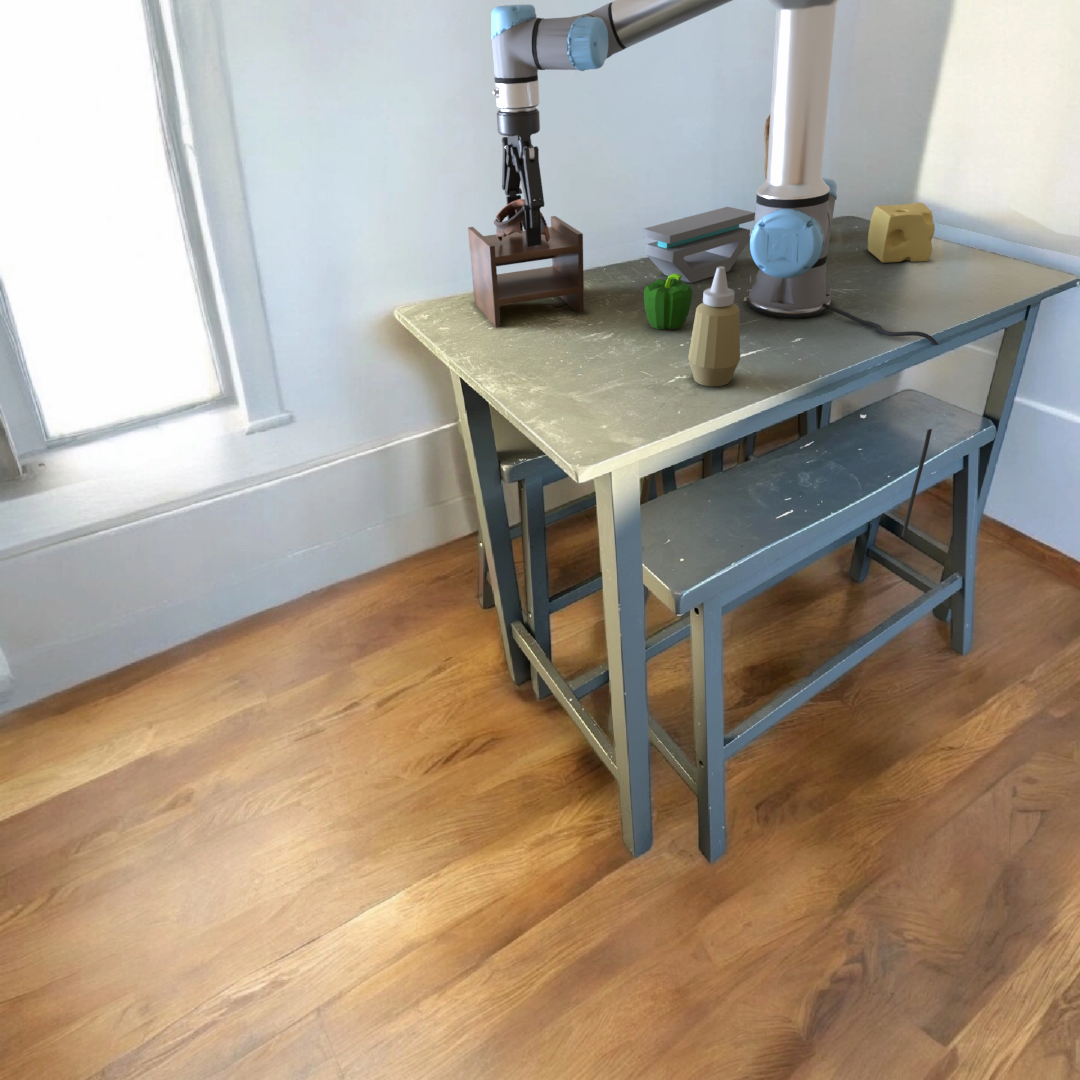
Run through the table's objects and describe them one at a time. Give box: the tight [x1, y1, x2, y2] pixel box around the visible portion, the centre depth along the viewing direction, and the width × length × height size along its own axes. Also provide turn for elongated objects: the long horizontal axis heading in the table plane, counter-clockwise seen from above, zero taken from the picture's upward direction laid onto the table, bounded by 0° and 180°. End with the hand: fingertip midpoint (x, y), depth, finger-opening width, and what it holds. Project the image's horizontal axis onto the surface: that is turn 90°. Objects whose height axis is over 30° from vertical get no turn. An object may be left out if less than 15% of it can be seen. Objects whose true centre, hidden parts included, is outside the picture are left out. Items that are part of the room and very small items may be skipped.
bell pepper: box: [643, 273, 693, 330], centre depth 155 cm, size 8×8×10 cm
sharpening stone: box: [642, 206, 756, 284], centre depth 180 cm, size 25×8×11 cm, turn 127°
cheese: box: [867, 202, 936, 264], centre depth 184 cm, size 10×11×10 cm
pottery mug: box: [493, 198, 550, 242], centre depth 161 cm, size 12×10×8 cm
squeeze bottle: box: [687, 266, 741, 387], centre depth 132 cm, size 8×8×18 cm
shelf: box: [467, 215, 585, 328], centre depth 165 cm, size 15×18×15 cm
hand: (524, 238), depth 162 cm, fingers closed on pottery mug, 10 cm apart
